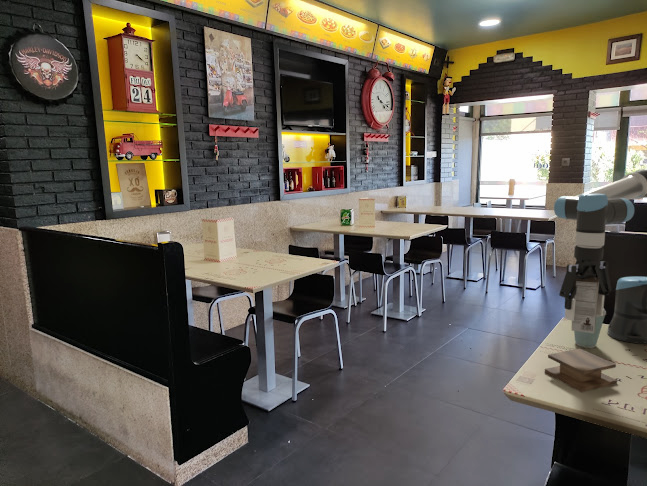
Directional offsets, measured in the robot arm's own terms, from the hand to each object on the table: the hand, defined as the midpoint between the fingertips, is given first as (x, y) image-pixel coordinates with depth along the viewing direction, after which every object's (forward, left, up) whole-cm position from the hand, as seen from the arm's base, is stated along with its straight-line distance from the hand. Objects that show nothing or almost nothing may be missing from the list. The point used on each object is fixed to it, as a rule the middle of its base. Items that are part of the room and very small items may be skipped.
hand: (583, 316), depth 140 cm
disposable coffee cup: (-24, -19, -20) cm, 37 cm away
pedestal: (0, 0, -20) cm, 20 cm away
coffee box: (0, 0, -4) cm, 4 cm away
